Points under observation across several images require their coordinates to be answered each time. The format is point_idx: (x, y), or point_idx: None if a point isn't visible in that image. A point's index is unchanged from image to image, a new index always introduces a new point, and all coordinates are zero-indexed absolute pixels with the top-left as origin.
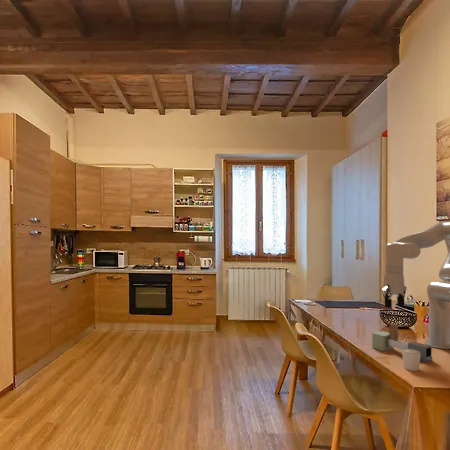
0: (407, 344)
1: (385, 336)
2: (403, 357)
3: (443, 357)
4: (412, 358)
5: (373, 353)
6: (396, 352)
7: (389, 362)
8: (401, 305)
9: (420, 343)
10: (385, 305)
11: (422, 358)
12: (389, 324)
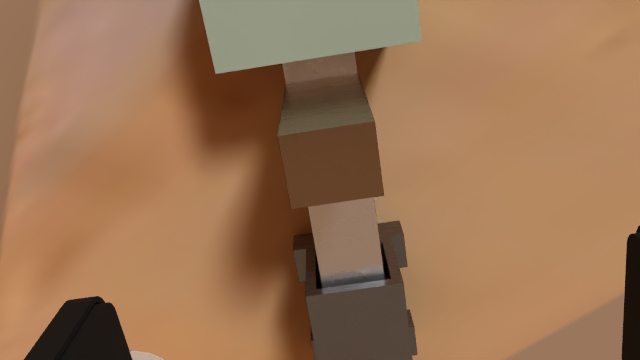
0: (319, 270)
1: (253, 65)
2: None
3: (562, 315)
4: None
5: (97, 62)
6: None
7: (75, 269)
8: (630, 322)
9: (405, 339)
10: (63, 332)
11: (314, 354)
12: (278, 138)
